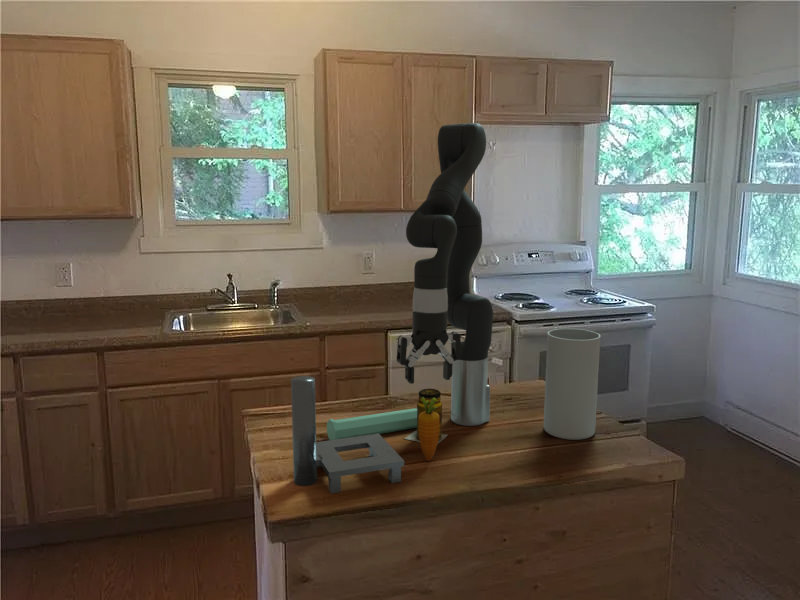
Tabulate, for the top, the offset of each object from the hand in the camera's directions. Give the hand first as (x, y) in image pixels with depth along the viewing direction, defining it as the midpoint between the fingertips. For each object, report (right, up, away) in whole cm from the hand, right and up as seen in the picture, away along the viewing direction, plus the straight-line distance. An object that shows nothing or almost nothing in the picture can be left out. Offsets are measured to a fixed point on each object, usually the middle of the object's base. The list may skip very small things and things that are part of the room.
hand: (428, 380), depth 145 cm
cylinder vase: (+36, -15, +21) cm, 45 cm away
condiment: (0, -16, +17) cm, 23 cm away
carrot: (0, -19, +3) cm, 19 cm away
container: (-12, -16, +20) cm, 28 cm away
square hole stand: (-18, -20, -4) cm, 27 cm away
